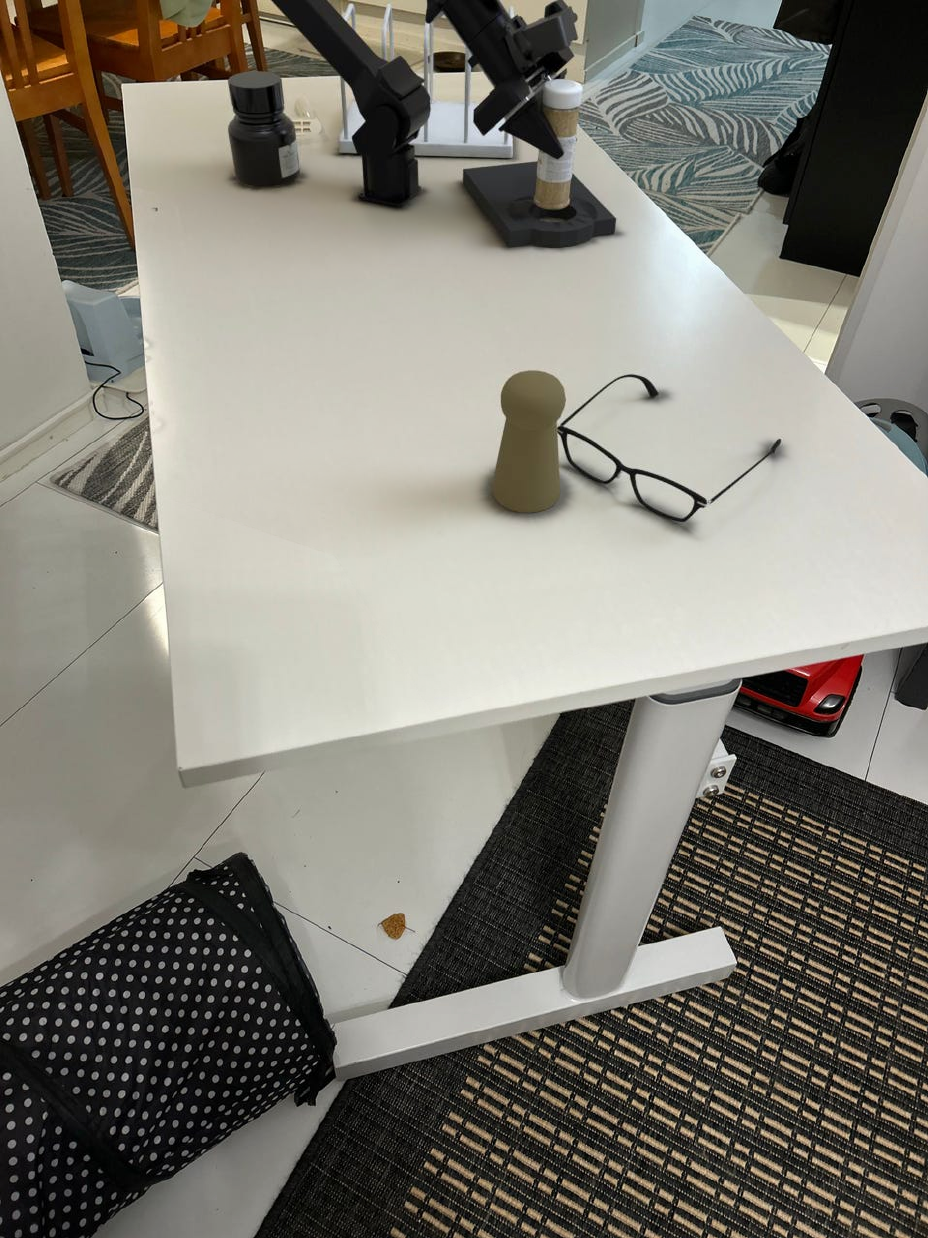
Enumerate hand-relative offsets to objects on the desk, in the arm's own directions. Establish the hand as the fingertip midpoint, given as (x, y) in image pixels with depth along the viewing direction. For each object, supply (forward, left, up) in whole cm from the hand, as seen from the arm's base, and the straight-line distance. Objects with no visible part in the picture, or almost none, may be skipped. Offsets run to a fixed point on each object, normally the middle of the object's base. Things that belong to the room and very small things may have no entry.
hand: (567, 149), depth 107 cm
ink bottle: (-42, -3, -10) cm, 43 cm away
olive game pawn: (+16, -51, -10) cm, 54 cm away
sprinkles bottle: (-1, 0, -7) cm, 7 cm away
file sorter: (-29, +22, -10) cm, 38 cm away
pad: (-5, +4, -9) cm, 12 cm away
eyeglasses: (+26, -41, -10) cm, 49 cm away
